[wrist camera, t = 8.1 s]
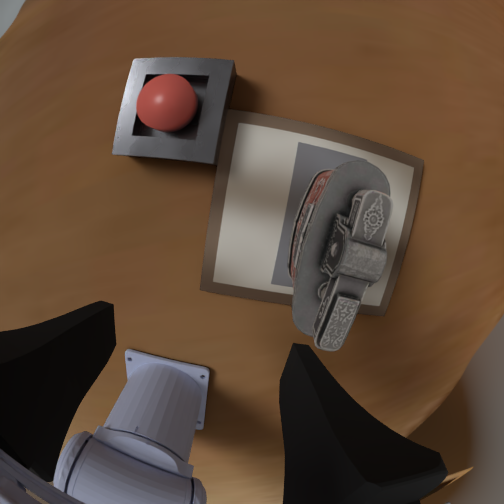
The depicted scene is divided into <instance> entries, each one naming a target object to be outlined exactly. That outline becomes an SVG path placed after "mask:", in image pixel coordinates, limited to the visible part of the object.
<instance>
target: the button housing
mask: <svg viewBox="0 0 504 504" xmlns="http://www.w3.org/2000/svg"><path fill="white" fill-rule="evenodd" d="M164 74H176V75H179V76H181V77H183V78H184V79H186V80H187V81H188V82H189V84H190V85H191V86H192V88H193V89H194V91H195V92H196V94H197V97H198V109H197V113H196V115H195V117H194V118H193V120H192V121H191V122H190V123H189V124H188V125H187V126H186V127H184V128H182V129H180V130H178V131H175V132H169V133H167V132H161V131H158V130H156V129H154V128H151V127H149V126H147V125H145V124H144V123H143V122H142V121H141V120H140V118H139V117H138V114H137V110H136V102H137V98H138V95H139V93H140V91H141V90H142V88H143V87H144V86H145V85H146V84H147V83H148V82H149V81H150V80H152V79H153V78H155V77H157V76H160V75H164ZM235 79H236V68H235V63H234V60H224V59H210V58H182V57H170V58H142V59H134V60H133V63H132V67H131V70H130V74H129V77H128V81H127V84H126V88H125V92H124V96H123V100H122V105H121V109H120V113H119V118H118V123H117V128H116V133H115V139H114V145H113V151H112V154H114V155H122V156H133V157H146V158H157V159H168V160H177V161H186V162H195V163H203V164H210V165H218V159H219V153H220V148H221V142H222V137H223V132H224V126H225V121H226V116H227V111H228V109H229V107H230V102H231V98H232V93H233V88H234V84H235Z"/></svg>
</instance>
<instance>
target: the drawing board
mask: <svg viewBox="0 0 504 504" xmlns="http://www.w3.org/2000/svg"><path fill="white" fill-rule="evenodd" d="M355 160H361V161H366V162H370V163H371V164H373V165H375V166H377V167H378V168H379V169H380V170H381V171H382V172H383V173H384V174H385V175H386V177H387V179H388V182H389V184H390V192H391V194H390V198H391V199H392V202H393V210H392V215H391V218H390V222H389V225H388V228H387V232H386V235H385V241H386V251H387V261H386V266H385V268H384V271H383V274H382V276H381V278H380V279H379V281H378V282H376V283H374V284H373V285H372V286H371V287H368V288H367V290H366V293H365V295H364V298H363V300H362V303H361V305H360V308H359V310H358V312H357V314H366V315H376V316H384V315H385V312H386V310H387V307H388V304H389V301H390V299H391V296H392V293H393V290H394V287H395V284H396V281H397V278H398V274H399V271H400V268H401V265H402V261H403V258H404V254H405V250H406V247H407V243H408V239H409V235H410V231H411V227H412V223H413V218H414V214H415V209H416V204H417V199H418V194H419V188H420V182H421V176H422V170H423V163H424V160H422V159H419V158H417V157H415V156H412V155H409V154H407V153H404V152H402V151H399V150H396V149H394V148H391V147H388V146H385V145H382V144H379V143H376V142H373V141H370V140H367V139H364V138H361V137H358V136H354V135H351V134H348V133H344V132H341V131H337V130H333V129H330V128H326V127H322V126H318V125H314V124H309V123H305V122H301V121H296V120H291V119H287V118H282V117H276V116H271V115H265V114H259V113H253V112H247V111H240V110H232V109H228V111H227V116H226V121H225V126H224V132H223V137H222V142H221V148H220V153H219V159H218V165H217V171H216V177H215V183H214V189H213V195H212V202H211V208H210V215H209V222H208V229H207V236H206V243H205V251H204V259H203V267H202V275H201V284H200V290H202V291H207V292H213V293H218V294H224V295H230V296H236V297H242V298H248V299H254V300H260V301H267V302H273V303H280V304H287V305H292V300H293V291H294V290H293V283H292V280H291V278H290V277H289V275H288V268H287V262H288V251H289V242H290V237H291V232H292V227H293V222H294V219H295V216H296V213H297V210H298V207H299V204H300V201H301V198H302V196H303V194H304V192H305V190H306V188H307V186H308V184H309V182H310V180H311V178H312V176H313V175H314V174H315V173H316V172H318V171H320V170H324V169H335V168H336V167H338V166H339V165H341V164H343V163H345V162H348V161H355Z"/></svg>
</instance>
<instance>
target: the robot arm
mask: <svg viewBox="0 0 504 504" xmlns="http://www.w3.org/2000/svg"><path fill="white" fill-rule="evenodd" d="M115 346H116V334H115V322H114V305H113V304H111V303H107V302H104V301H98V302H95V303H92V304H89V305H87V306H84V307H82V308H79V309H77V310H74V311H72V312H69V313H67V314H64V315H62V316H59V317H56V318H53V319H51V320H48V321H45V322H42V323H39V324H36V325H32V326H28V327H24V328H20V329H15V330H9V331H2V332H0V504H42V503H40V502H39V501H37V500H36V499H34V498H33V497H31V496H30V495H29V494H27V493H26V489H25V488H27V489H28V490H30V491H31V492H33V493H34V494H35V495H37V496H38V497H40V498H42V499H43V500H45V501H46V502H48V503H50V504H206V501H207V497H206V491H205V488H204V487H203V485H202V483H201V481H200V480H199V479H197V478H194V477H192V473H193V467H194V466H193V465H190V464H188V461H189V456H190V452H191V447H192V442H193V438H194V433H195V429H197V430H202V429H203V427H204V418H205V408H206V399H207V391H208V382H209V374H210V370H209V369H208V368H207V367H203V366H198V365H193V364H188V363H184V362H179V361H175V360H170V359H166V358H162V357H158V356H154V355H150V354H146V353H142V352H139V351H135V350H132V349H127V350H126V352H125V360H126V369H127V377H128V382H127V384H126V385H125V387H124V389H123V391H122V393H121V394H120V396H119V398H118V400H117V402H116V403H115V405H114V407H113V409H112V411H111V413H110V414H109V416H108V418H107V420H106V422H105V424H104V426H103V427H102V426H98V427H97V429H96V431H95V433H94V434H91V433H89V432H87V431H84V432H82V433H77V434H75V435H74V436H73V437H72V438H71V439H70V440H69V441H68V443H67V444H66V446H65V448H64V449H63V451H62V453H61V455H60V451H61V448H62V445H63V442H64V439H65V436H66V434H67V431H68V429H69V426H70V424H71V422H72V419H73V417H74V415H75V413H76V411H77V409H78V406H79V405H80V403H81V401H82V400H83V398H84V396H85V395H86V393H87V392H88V390H89V389H90V387H91V386H92V385H93V383H94V382H95V380H96V379H97V377H98V376H99V374H100V373H101V371H102V370H103V368H104V367H105V365H106V364H107V362H108V360H109V358H110V356H111V354H112V352H113V350H114V348H115ZM129 357H130V358H131V359H130V358H129ZM202 375H204V376H205V377H203V376H202ZM279 404H280V413H281V422H282V431H283V439H284V449H285V477H284V496H283V504H420V501H419V499H420V498H422V497H423V496H425V495H426V494H427V493H429V492H430V491H431V490H433V489H434V488H435V487H437V486H438V485H439V484H440V483H441V482H442V481H443V480H444V479H445V478H446V476H447V474H448V471H447V469H446V467H445V464H444V462H443V460H442V458H441V455H440V453H439V452H436V451H433V450H431V449H429V448H426V447H424V446H421V445H419V444H417V443H415V442H412V441H411V440H409V439H407V438H405V437H403V436H401V435H400V434H398V433H396V432H395V431H393V430H391V429H390V428H388V427H387V426H386V425H384V424H383V423H381V422H380V421H378V420H377V419H376V418H374V417H373V416H372V415H371V414H369V413H368V412H367V411H366V410H365V409H364V408H362V407H361V406H360V405H359V404H358V403H357V402H356V401H355V400H354V399H353V398H352V397H351V396H350V395H349V394H348V393H347V392H346V391H345V390H344V389H343V388H342V387H341V386H340V384H339V383H338V382H337V381H336V380H335V379H334V377H333V376H332V375H331V374H330V373H329V371H328V370H327V369H326V367H325V366H324V365H323V364H322V362H321V361H320V360H319V358H318V357H317V356H316V354H315V353H314V352H313V350H312V349H311V348H310V347H309V345H304V344H297V343H293V345H292V348H291V351H290V353H289V356H288V359H287V362H286V365H285V368H284V370H283V373H282V376H281V379H280V391H279ZM59 455H60V458H59ZM58 458H59V460H58ZM51 481H54V486H52V485H50V484H49V483H47V482H51ZM24 487H25V488H24ZM445 504H450V502H447V503H445Z"/></svg>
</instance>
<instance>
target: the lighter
mask: <svg viewBox="0 0 504 504" xmlns="http://www.w3.org/2000/svg"><path fill="white" fill-rule="evenodd" d="M390 194H391V192H390V184H389V182H388V179H387V177H386V175H385V174H384V173H383V172H382V171H381V170H380V169H379V168H378V167H377V166H375V165H373V164H371V163H370V162H366V161H361V160H355V161H348V162H345V163H343V164H341V165H339V166H338V167H336V168H335V169H324V170H320V171H318V172H316V173H315V174H314V175H313V176H312V178H311V180H310V182H309V184H308V186H307V188H306V190H305V192H304V194H303V196H302V198H301V201H300V204H299V207H298V210H297V213H296V216H295V219H294V222H293V227H292V232H291V237H290V242H289V251H288V262H287V268H288V275H289V277H290V278H291V280H292V283H293V290H294V291H293V300H292V315H293V322H294V324H295V325H296V327H297V329H299V330H300V331H301V332H302V333H304V334H306V335H309V336H311V337H314V342H315V346H316V347H317V348H319V349H322V350H326V351H336V350H338V349H340V348H341V347H342V345H343V344H344V342H345V340H346V338H347V335H348V333H349V331H350V329H351V326H352V324H353V322H354V320H355V317H356V315H357V312H358V310H359V308H360V305H361V303H362V300H363V298H364V295H365V293H366V290H367V288H368V287H371V286H372V285H373V284H374V283H376V282H378V281H379V279H380V278H381V276H382V274H383V271H384V268H385V266H386V261H387V251H386V241H385V235H386V232H387V228H388V225H389V222H390V218H391V215H392V210H393V202H392V199H391V198H390Z"/></svg>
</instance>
